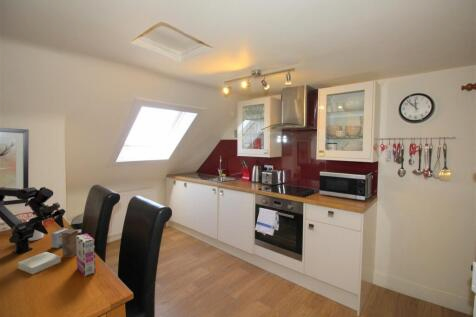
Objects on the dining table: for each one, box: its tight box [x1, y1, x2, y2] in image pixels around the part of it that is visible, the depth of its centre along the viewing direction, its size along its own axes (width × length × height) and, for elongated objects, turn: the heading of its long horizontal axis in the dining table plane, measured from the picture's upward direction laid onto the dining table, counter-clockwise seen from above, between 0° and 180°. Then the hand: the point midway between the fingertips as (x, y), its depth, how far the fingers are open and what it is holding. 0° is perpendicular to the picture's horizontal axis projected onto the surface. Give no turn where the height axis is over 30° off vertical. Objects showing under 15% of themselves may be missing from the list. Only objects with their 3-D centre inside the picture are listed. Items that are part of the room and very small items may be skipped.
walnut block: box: [61, 228, 79, 258], centre depth 127 cm, size 5×5×13 cm
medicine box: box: [50, 228, 70, 249], centre depth 139 cm, size 8×4×9 cm, turn 168°
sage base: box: [17, 251, 62, 275], centre depth 117 cm, size 12×12×3 cm
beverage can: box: [26, 219, 44, 242], centre depth 147 cm, size 8×8×12 cm
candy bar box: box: [76, 233, 96, 277], centre depth 112 cm, size 11×5×16 cm, turn 49°
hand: (55, 230), depth 127 cm, fingers open, 9 cm apart
